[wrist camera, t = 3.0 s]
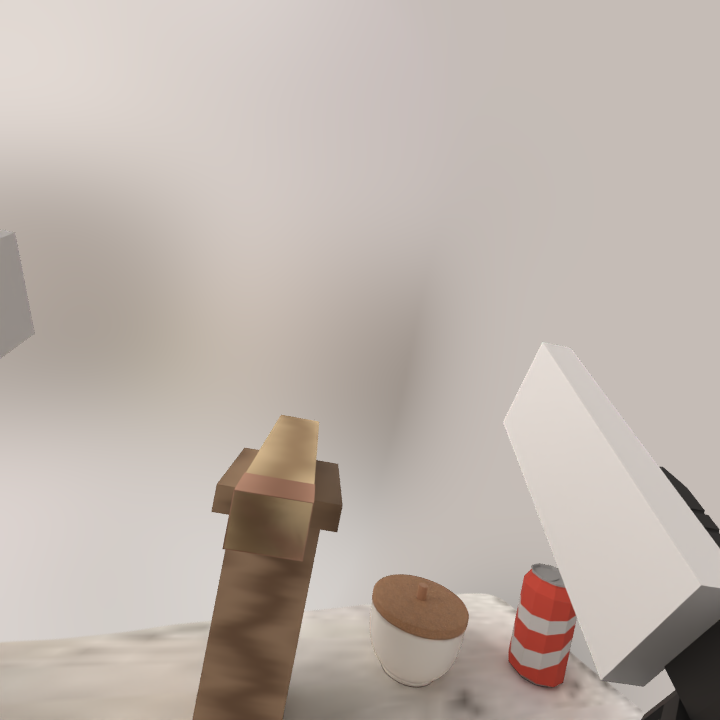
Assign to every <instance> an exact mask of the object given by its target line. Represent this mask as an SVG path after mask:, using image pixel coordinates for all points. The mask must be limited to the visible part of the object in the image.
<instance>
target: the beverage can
mask: <svg viewBox="0 0 720 720" xmlns="http://www.w3.org/2000/svg"><path fill="white" fill-rule="evenodd" d="M531 567H532V569H531V570H530V571H529V572H528V573H527V574H526V575H525V576H524V580H523V585H522V590H521V594H520V599H519V604H518V609H517V613H516V618H515V623H514V628H513V633H512V637H511V642H510V647H509V662H510V663H511V665H512V666H513V667H514V668H515V669H516V671H517V672H518V673H519V674H520V675H521V676H522V677H523V678H524V679H526V680H528V681H529V682H531V683H533V684H535V685H539V686H544V687H548V686H550V687H555V686H557V685H559V684H561V683H563V680H564V675H565V671H566V666H567V661H568V657H569V652H570V647H571V642H572V638H573V633H574V628H575V624H576V619H577V616H576V614H575V611H574V609H573V606H572V603H571V601H570V598H569V595H568V593H567V590H566V587H565V585H564V582H563V579H562V577H561V574H560V572H559V569H558V568H555V567H553V566H549V565H545V564H534V565H532V566H531Z"/></svg>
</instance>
